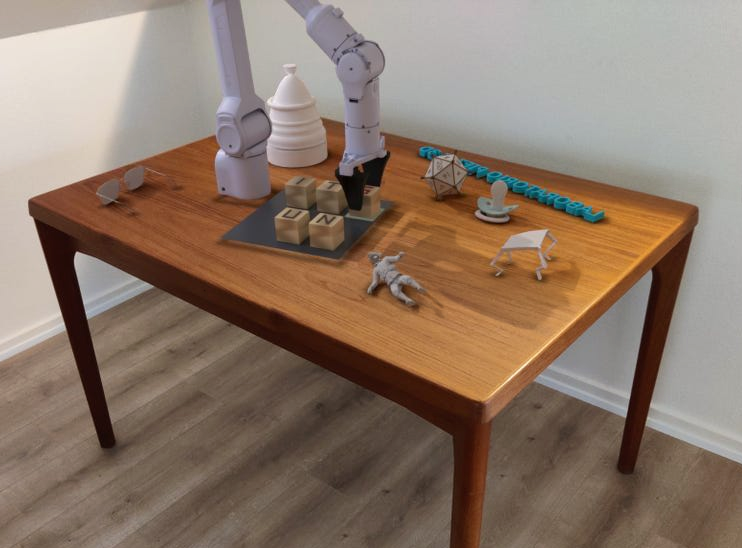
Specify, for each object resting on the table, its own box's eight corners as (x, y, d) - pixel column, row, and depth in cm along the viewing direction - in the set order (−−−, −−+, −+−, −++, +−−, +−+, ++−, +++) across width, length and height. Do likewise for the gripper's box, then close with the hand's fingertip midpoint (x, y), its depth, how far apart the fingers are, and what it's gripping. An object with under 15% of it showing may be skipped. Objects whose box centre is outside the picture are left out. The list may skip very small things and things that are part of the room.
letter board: (220, 243, 123) (215, 214, 120) (288, 190, 141) (285, 163, 138) (338, 265, 116) (337, 235, 113) (394, 206, 134) (394, 179, 130)
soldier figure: (392, 319, 104) (343, 267, 109) (406, 327, 108) (358, 276, 114) (429, 279, 103) (377, 228, 108) (442, 288, 107) (391, 238, 112)
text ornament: (603, 217, 127) (604, 211, 127) (593, 222, 126) (594, 216, 125) (427, 150, 156) (427, 145, 156) (417, 154, 155) (417, 149, 154)
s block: (349, 215, 128) (348, 192, 126) (358, 206, 131) (358, 183, 129) (371, 219, 127) (370, 195, 124) (380, 209, 130) (380, 186, 127)
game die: (452, 217, 138) (468, 188, 129) (410, 199, 138) (423, 169, 128) (466, 180, 141) (483, 149, 132) (425, 162, 141) (439, 130, 132)
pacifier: (504, 228, 125) (520, 215, 129) (507, 194, 122) (523, 181, 125) (467, 218, 129) (484, 206, 133) (468, 185, 125) (485, 173, 129)
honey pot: (267, 147, 161) (257, 61, 150) (325, 144, 162) (320, 58, 151) (266, 169, 150) (257, 78, 140) (329, 165, 151) (324, 74, 141)
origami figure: (535, 290, 108) (538, 261, 105) (485, 274, 112) (488, 245, 109) (571, 259, 115) (575, 231, 113) (523, 245, 120) (526, 217, 117)
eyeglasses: (146, 181, 146) (143, 162, 144) (179, 190, 144) (177, 171, 141) (98, 208, 136) (94, 188, 133) (132, 218, 133) (129, 198, 131)
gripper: (367, 139, 113) (368, 220, 121) (401, 112, 124) (400, 188, 132) (326, 134, 116) (330, 214, 123) (362, 108, 126) (364, 183, 134)
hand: (364, 200), depth 128 cm, fingers open, 7 cm apart
